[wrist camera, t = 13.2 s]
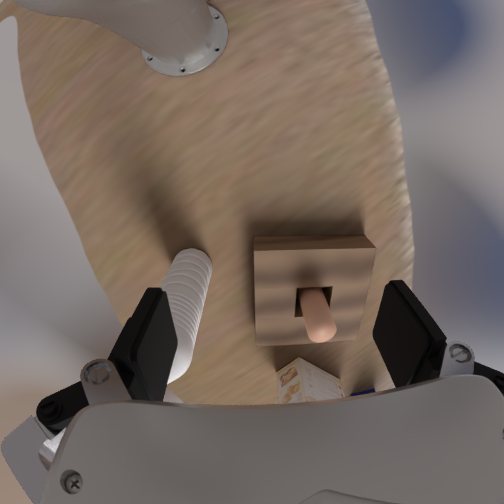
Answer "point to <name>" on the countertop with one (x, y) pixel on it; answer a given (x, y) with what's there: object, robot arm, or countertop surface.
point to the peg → (316, 314)
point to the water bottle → (186, 302)
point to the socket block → (309, 284)
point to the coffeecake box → (306, 383)
